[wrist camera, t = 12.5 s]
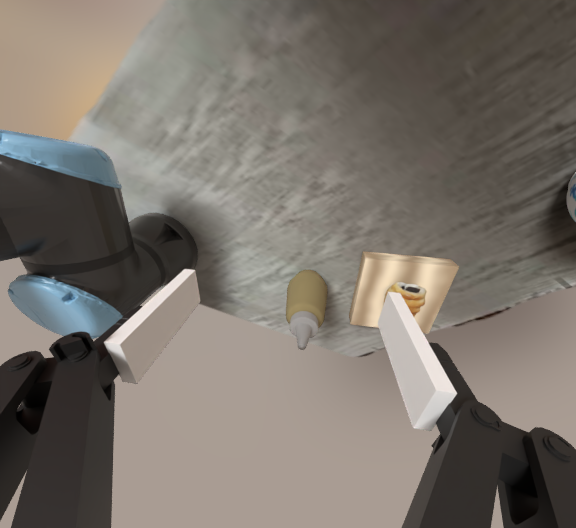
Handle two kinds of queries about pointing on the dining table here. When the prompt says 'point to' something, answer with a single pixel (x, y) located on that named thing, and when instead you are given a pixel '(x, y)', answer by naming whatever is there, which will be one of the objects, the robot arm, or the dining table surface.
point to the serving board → (400, 268)
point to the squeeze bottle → (306, 305)
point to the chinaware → (572, 197)
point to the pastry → (410, 295)
